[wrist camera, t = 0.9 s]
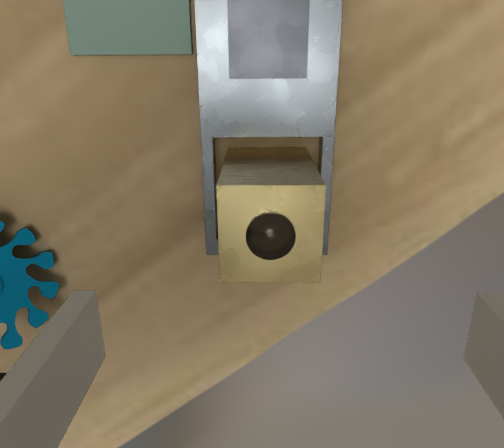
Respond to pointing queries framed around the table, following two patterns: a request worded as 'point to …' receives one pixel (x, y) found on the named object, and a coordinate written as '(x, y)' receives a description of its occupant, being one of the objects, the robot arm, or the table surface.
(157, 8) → the translucent green panel
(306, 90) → the rail
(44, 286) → the blue spiky knobbed toy
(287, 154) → the wooden speaker box
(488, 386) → the robot arm
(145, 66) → the table surface
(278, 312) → the table surface
